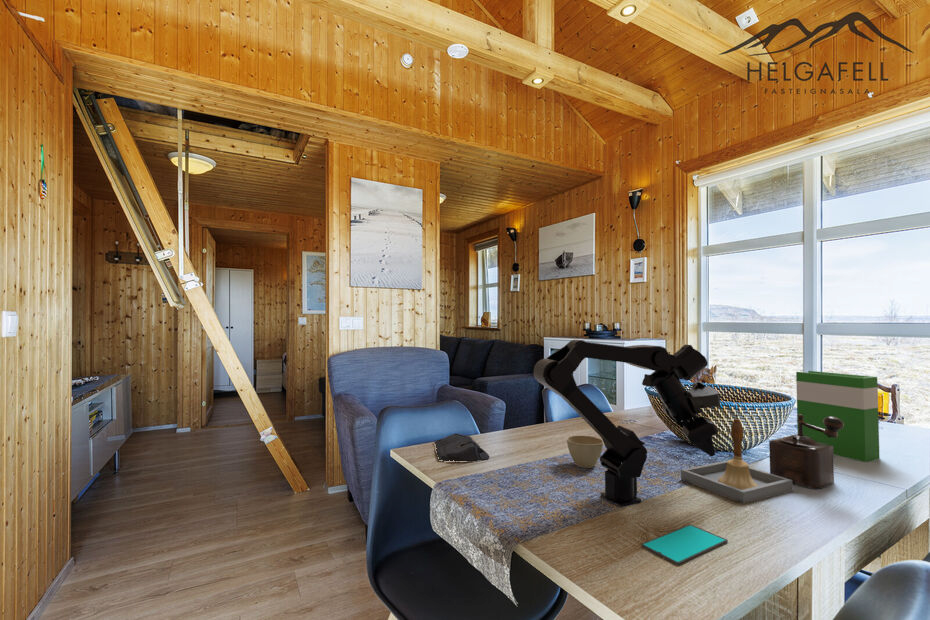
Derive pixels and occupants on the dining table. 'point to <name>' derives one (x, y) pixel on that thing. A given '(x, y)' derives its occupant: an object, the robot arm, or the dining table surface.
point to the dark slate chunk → (459, 449)
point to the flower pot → (585, 450)
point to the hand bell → (737, 463)
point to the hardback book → (841, 411)
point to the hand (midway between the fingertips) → (704, 445)
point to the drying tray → (709, 480)
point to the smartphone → (684, 544)
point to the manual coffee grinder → (805, 455)
